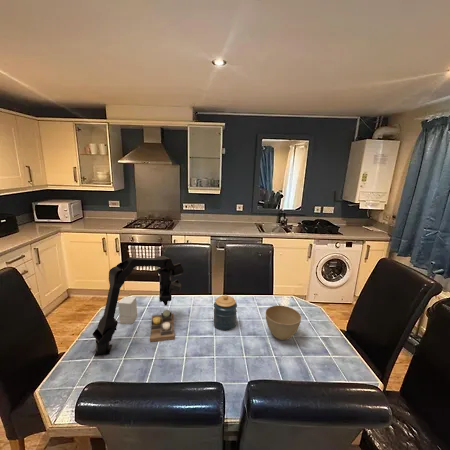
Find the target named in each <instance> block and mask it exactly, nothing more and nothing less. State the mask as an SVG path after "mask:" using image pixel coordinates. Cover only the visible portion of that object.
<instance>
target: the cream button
mask: <svg viewBox="0 0 450 450" xmlns="http://www.w3.org/2000/svg"><path fill="white" fill-rule="evenodd" d="M169 329H170V323H169V322H165V323H163V330H164V331H168V330H169Z"/></svg>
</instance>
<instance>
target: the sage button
mask: <svg viewBox="0 0 450 450" xmlns="http://www.w3.org/2000/svg"><path fill="white" fill-rule="evenodd" d="M170 312H171V310H169V309H165V310H163V311H162V313H163V317H164V318H167V317H169V316H170Z"/></svg>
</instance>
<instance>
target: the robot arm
mask: <svg viewBox="0 0 450 450" xmlns="http://www.w3.org/2000/svg"><path fill="white" fill-rule="evenodd" d="M136 267H157V269H156V271H155V273H156V274H158V275H159V295H158V297H159V298H158V300H159V302H160V303H162V302H163V305H164V306H168V303H169V302H171V301H172V299H173V298H172V297H173V296H172V291H173V292H177V293H179V292H180V291H181V288H182V284H181V282H180V281H179V279H175V280H174V281H172V278H171V277H173V278H174V277H177V276H181V275H183V274H184V267H183V266H182V263H180V262H177V263H173V261H172V259H171V258H169V257H166V256H165V255H159V256H156V257H133V256H130V257H128V258H126V259H125V260H124V261H122V262H120V263H118V264H117V265H115V266H113V267H112V268H110V269H109V271H108V283H109V289H108V292H107V298H106V302H105V306H104V312H103V315H102V317H101V318H100V320H99V322H98V324H97V326H96V329H95V330H94V331H93V333H92V336H93V338H94V339H95V347H96V350H95V351H94V357H98V356H99V357H100V356H107V355H108V356H109V355H110V353H111V350H112V347H113V344H110V342H112V339H113V336H114V334H115V333H116V331H117V327H118V323H119V322H118V320H116V318H115V314H116V309H117V306H118V301H119V296H120V292H121V291H120V290H121V288H122V287H123V285H124V284H125V282H126V280H127V277H128V276H129V275H131V273H132V272H133V270H134V269H135V268H136Z"/></svg>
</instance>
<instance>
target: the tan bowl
mask: <svg viewBox="0 0 450 450" xmlns="http://www.w3.org/2000/svg"><path fill="white" fill-rule="evenodd" d="M265 321H266V325H267V327H268V329H269V332H270V333H271V334H272V336H274V338H276V339H278V340H281V341H282V340H283V341H285V340H288V339H290V338H291V337H293V336H294V335H295V333H296V332H297V331H298V329H299V327H300V325H301V321H302V315H301V313H300V312H298V311H297V310H296V309H294V308H293V307H290V306H287V305H272V306H269V307H268V308H266V309H265Z"/></svg>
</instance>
